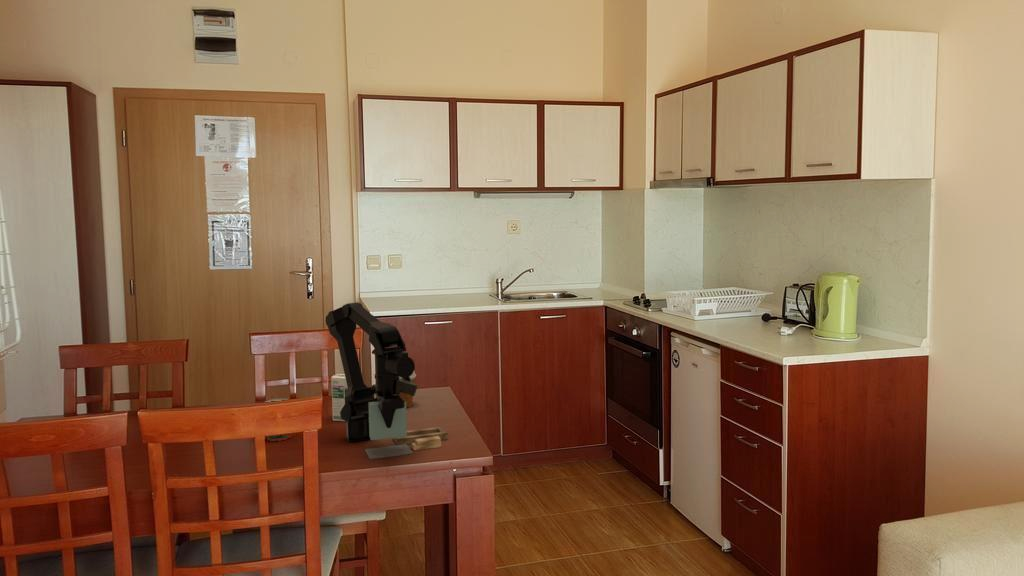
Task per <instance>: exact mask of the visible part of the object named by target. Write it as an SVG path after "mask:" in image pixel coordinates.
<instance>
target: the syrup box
mask: <svg viewBox="0 0 1024 576" xmlns="http://www.w3.org/2000/svg"><path fill="white" fill-rule="evenodd" d="M330 383H331V398H332V399H331V404H332V407H331V408H332V421H334V422H335V421H336V422H337V421H338V422H346V421H345V420H342V419H341V415H340V411H341V410H342V408H343V406H344V405H345V399H344V397H345V394H346V391H347V388H348V387H347V382H346V378H345V373H336V374H334V375H332V376H331V377H330Z"/></svg>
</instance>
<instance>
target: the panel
mask: <svg viewBox="0 0 1024 576" xmlns="http://www.w3.org/2000/svg"><path fill="white" fill-rule="evenodd" d="M403 400H404V399H403ZM404 401H405V400H404ZM368 403H369V436H370V440H371V441H377V440H384V439H385V440H386V439H393V438H395V437H404V436H407V431H408V429H407V428H408V426H407V421H408V420H407V419H408V418H407V408H406V401H405V408H400V409H396V410H395V413H394V417H393V421H392V425H391V428H387V427H386V424H385V422H384V419H383V417H382V414H381V412H380V410H379V407H378V405H380V402H379V401H378V402H368Z"/></svg>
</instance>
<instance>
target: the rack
mask: <svg viewBox="0 0 1024 576" xmlns="http://www.w3.org/2000/svg"><path fill="white" fill-rule="evenodd" d="M434 436H439V437H440V438H441V441H445V440H447V441H448V438H449V437H448V436H449V435H448V432H447V430H445V428H444V427H443V426H438V427H428V428H422V429H421V428H419V429H413V430H412V429H411V430H407V436H404V437H395V438H392V439H393V441H394V443H395V444H396V445H403V444H408V445H412V443H415V439H420V438H427V437H434Z"/></svg>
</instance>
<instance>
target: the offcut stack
mask: <svg viewBox="0 0 1024 576" xmlns="http://www.w3.org/2000/svg"><path fill="white" fill-rule="evenodd" d="M411 448H412V449H413V451H421V450H428V449H429V448H430V449H437V448H442V440H441V438H440V437H439V436H434V437H427V438H420V439H415V443H412V444H411Z"/></svg>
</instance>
